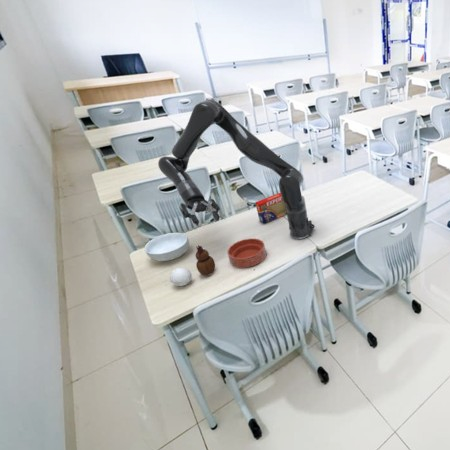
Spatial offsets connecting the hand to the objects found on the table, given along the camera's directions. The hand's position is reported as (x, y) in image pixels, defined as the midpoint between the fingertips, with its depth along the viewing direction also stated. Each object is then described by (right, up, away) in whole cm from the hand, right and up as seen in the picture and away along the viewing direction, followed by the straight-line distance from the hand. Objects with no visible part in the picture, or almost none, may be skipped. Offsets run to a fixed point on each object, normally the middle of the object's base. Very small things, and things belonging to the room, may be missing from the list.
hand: (208, 221), depth 147 cm
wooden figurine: (-1, -22, +2) cm, 22 cm away
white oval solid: (-9, -26, -5) cm, 28 cm away
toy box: (+14, +3, +42) cm, 44 cm away
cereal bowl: (-23, -15, +12) cm, 30 cm away
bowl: (+13, -16, +11) cm, 23 cm away
